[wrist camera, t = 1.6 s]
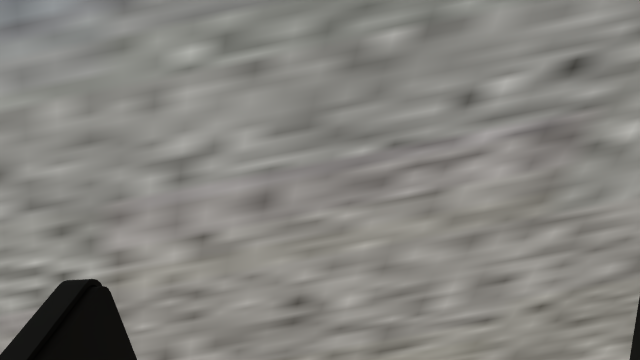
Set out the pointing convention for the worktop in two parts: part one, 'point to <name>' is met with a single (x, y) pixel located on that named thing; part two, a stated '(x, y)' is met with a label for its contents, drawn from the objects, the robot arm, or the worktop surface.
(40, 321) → the robot arm
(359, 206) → the worktop surface
